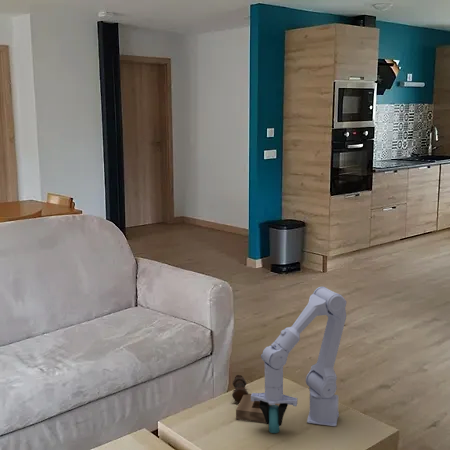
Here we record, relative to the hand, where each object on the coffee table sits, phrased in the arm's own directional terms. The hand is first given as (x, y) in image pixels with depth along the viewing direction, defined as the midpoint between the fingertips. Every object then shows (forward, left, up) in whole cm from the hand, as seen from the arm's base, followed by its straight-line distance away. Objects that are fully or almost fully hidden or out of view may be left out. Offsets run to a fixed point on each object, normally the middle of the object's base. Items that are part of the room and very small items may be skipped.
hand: (274, 423), depth 189 cm
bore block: (+7, -10, -3) cm, 12 cm away
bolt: (+17, -22, -2) cm, 27 cm away
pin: (0, 0, -2) cm, 2 cm away
